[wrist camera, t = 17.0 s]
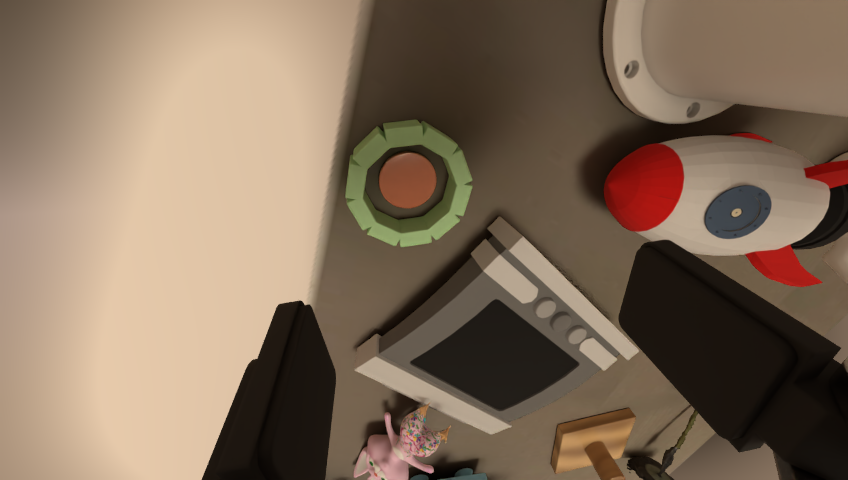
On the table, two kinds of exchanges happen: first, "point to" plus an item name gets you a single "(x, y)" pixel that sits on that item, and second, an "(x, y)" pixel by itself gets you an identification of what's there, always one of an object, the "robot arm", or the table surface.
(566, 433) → the stand
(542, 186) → the table surface
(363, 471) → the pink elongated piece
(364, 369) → the grey retro screen device
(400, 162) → the copper round disc
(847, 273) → the mug
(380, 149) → the ring
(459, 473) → the teapot
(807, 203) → the toy
